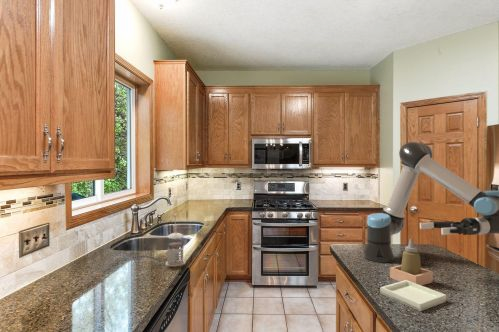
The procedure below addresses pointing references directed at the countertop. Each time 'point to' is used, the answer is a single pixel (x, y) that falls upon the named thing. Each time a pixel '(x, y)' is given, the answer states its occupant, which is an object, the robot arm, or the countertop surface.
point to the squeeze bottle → (411, 260)
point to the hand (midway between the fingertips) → (430, 228)
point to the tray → (413, 295)
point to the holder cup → (411, 276)
